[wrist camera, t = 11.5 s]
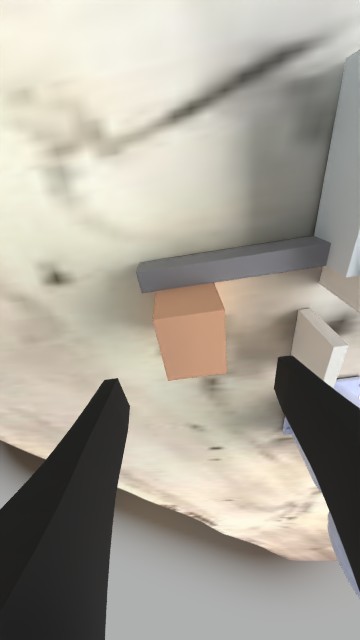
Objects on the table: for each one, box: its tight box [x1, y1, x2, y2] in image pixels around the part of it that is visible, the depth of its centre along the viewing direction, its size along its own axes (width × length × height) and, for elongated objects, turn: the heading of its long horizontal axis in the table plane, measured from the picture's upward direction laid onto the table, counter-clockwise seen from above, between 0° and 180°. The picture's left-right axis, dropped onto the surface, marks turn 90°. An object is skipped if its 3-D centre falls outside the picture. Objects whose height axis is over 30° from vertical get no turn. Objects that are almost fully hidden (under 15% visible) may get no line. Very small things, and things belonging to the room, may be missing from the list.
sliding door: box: [137, 50, 360, 293], centre depth 12 cm, size 10×14×4 cm
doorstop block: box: [153, 283, 227, 381], centre depth 16 cm, size 5×4×6 cm
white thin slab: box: [291, 266, 360, 388], centre depth 15 cm, size 20×2×5 cm, turn 8°
